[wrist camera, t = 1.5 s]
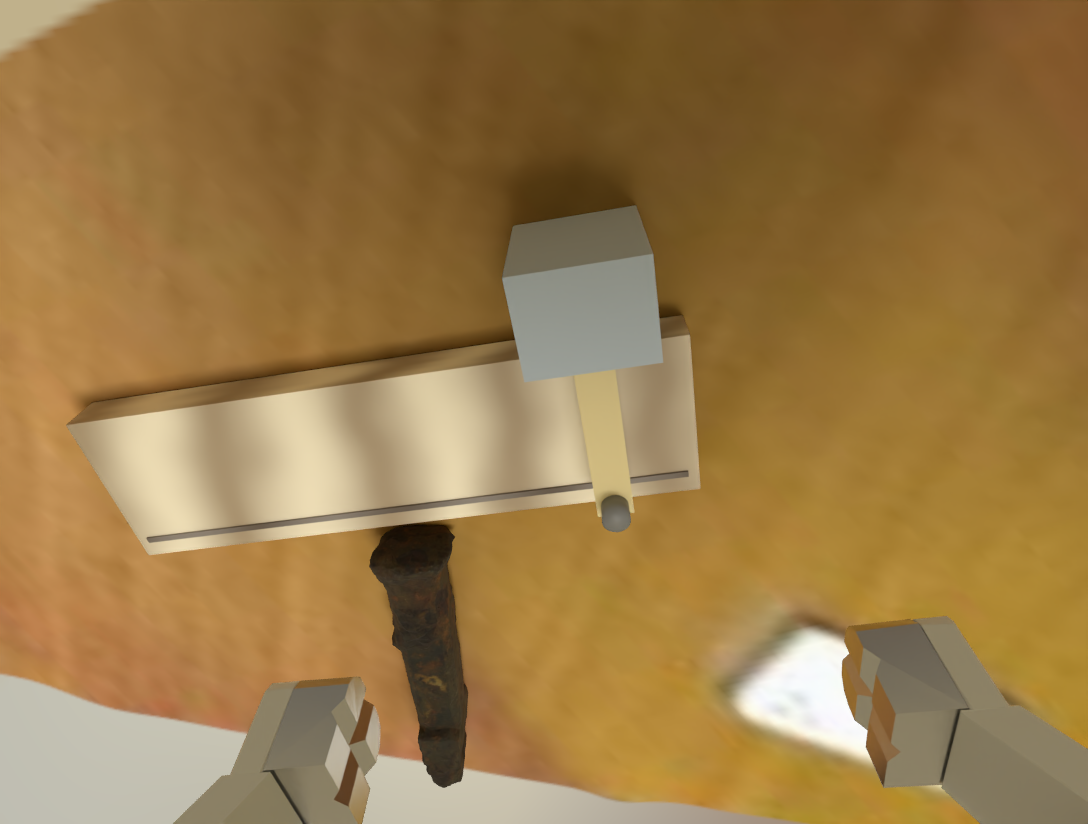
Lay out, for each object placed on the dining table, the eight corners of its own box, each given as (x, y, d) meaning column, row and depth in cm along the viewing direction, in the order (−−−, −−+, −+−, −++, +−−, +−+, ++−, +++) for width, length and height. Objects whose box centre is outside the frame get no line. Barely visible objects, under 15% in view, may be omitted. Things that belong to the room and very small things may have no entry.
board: (682, 314, 29) (690, 335, 28) (693, 463, 34) (700, 489, 32) (91, 402, 33) (64, 426, 31) (167, 529, 37) (147, 556, 35)
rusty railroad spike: (381, 517, 36) (358, 581, 32) (456, 518, 36) (442, 582, 32) (417, 731, 46) (403, 801, 42) (476, 733, 46) (467, 802, 42)
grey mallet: (635, 205, 27) (653, 254, 22) (661, 451, 33) (679, 534, 28) (512, 225, 28) (502, 278, 23) (560, 464, 34) (559, 548, 29)
